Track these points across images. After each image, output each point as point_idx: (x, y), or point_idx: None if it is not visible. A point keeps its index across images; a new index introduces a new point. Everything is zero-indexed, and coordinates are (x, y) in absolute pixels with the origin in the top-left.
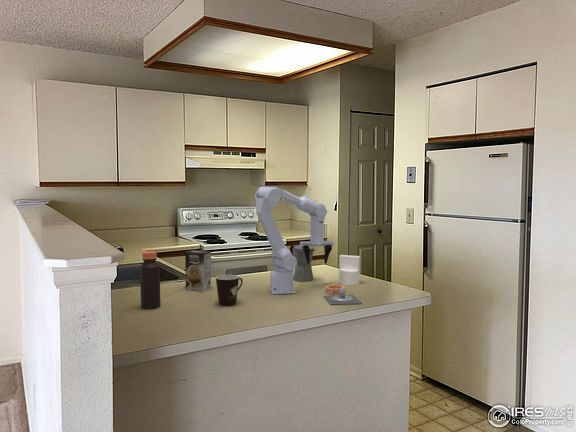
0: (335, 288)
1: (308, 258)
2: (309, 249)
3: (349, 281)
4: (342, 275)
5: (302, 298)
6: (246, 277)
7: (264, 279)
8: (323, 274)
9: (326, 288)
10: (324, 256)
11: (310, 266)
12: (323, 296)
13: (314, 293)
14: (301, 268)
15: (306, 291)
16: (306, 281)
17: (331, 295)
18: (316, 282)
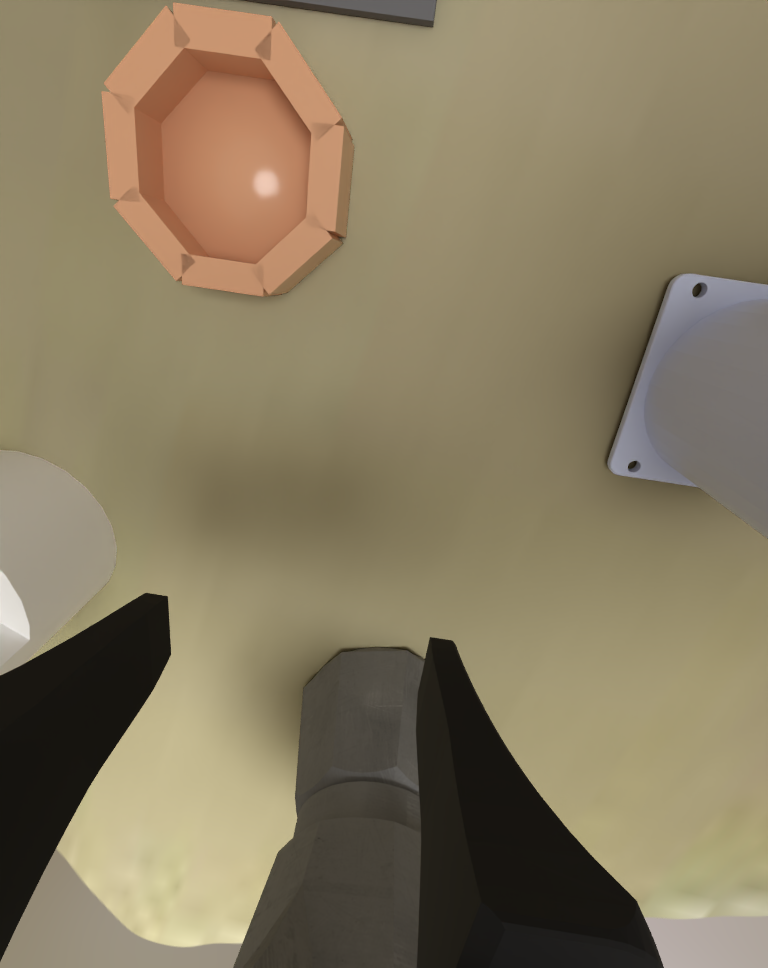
0: (211, 256)
1: (458, 695)
2: (483, 882)
3: (16, 469)
4: (43, 543)
5: (707, 18)
6: (756, 861)
7: (664, 789)
8: (187, 786)
9: (344, 142)
10: (116, 739)
11: (311, 787)
12: (434, 12)
13: (469, 230)
14: (415, 770)
15: (514, 339)
16: (381, 649)
17: (331, 3)
18: (306, 610)
